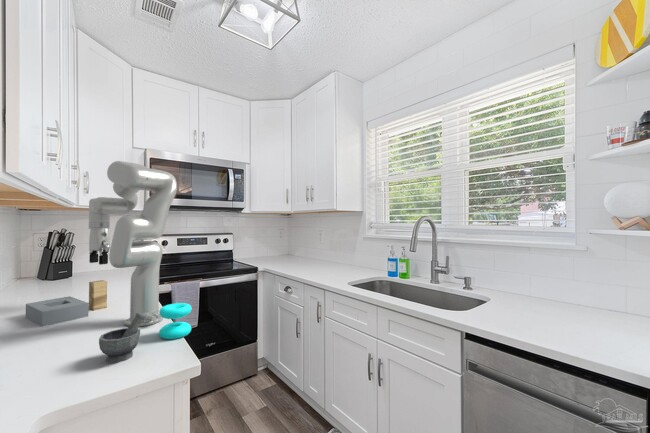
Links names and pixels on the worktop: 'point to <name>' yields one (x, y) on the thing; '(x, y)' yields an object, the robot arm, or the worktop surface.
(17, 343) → the worktop surface
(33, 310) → the well block
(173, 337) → the donuts
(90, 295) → the oak post
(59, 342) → the worktop surface
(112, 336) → the mortar and pestle
